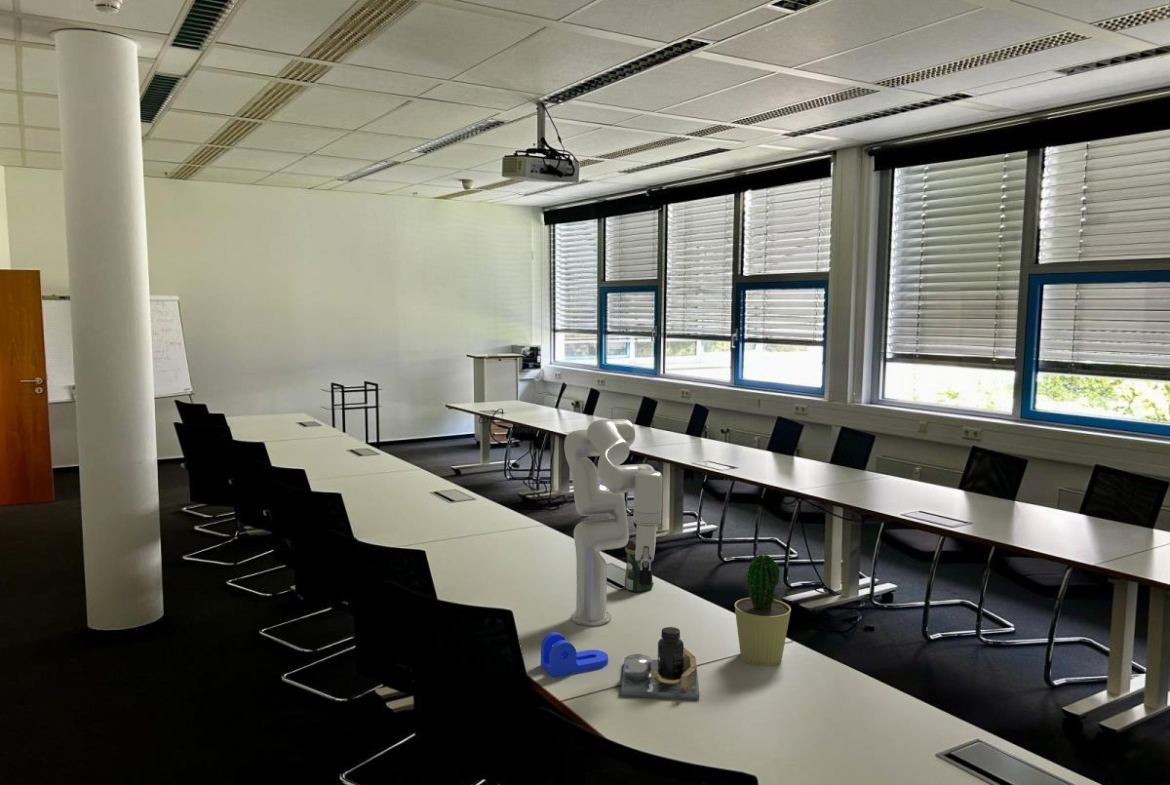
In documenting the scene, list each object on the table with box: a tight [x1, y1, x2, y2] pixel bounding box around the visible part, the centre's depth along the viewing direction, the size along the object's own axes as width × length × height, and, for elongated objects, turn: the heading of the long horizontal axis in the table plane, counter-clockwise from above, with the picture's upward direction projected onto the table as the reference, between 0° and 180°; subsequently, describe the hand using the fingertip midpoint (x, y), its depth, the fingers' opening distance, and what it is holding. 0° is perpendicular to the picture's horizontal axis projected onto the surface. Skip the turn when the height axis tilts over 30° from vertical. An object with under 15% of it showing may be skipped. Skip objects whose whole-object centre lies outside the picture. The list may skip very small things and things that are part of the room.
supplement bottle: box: [657, 626, 685, 679], centre depth 212 cm, size 7×7×12 cm
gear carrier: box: [620, 647, 700, 701], centre depth 212 cm, size 20×20×6 cm
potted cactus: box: [734, 554, 792, 667], centre depth 226 cm, size 15×15×30 cm
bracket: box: [540, 631, 609, 679], centre depth 221 cm, size 18×8×9 cm, turn 115°
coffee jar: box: [624, 536, 654, 593], centre depth 284 cm, size 10×8×19 cm
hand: (645, 578), depth 219 cm, fingers open, 9 cm apart
